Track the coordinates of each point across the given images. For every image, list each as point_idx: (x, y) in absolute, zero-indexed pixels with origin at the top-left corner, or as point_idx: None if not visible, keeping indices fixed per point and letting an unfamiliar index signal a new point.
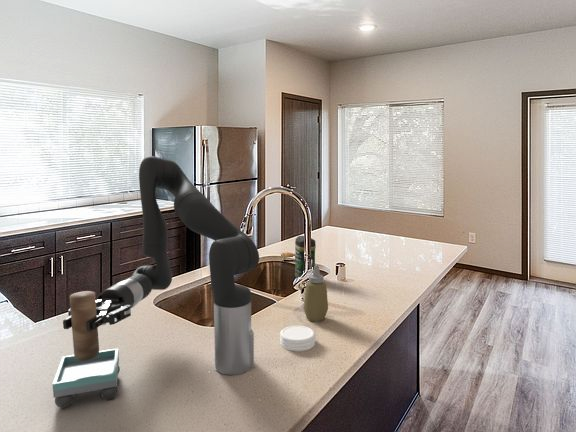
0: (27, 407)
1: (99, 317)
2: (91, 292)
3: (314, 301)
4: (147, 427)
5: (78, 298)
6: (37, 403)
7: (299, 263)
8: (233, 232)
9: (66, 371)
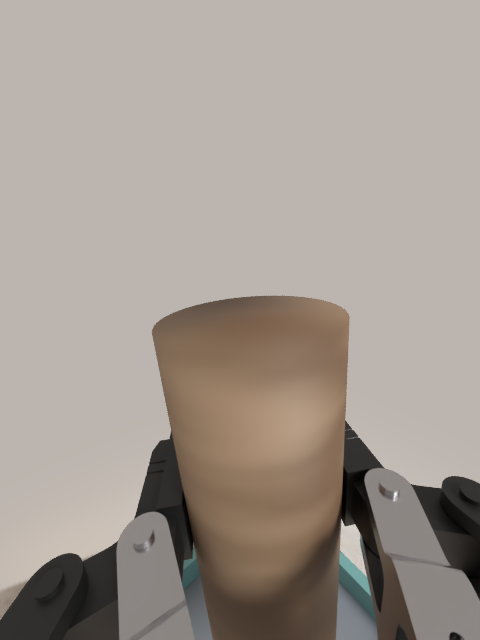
0: (355, 532)
1: (159, 512)
2: (218, 342)
3: None
4: (17, 584)
5: (224, 301)
6: (355, 556)
7: None
8: None
9: (350, 615)
